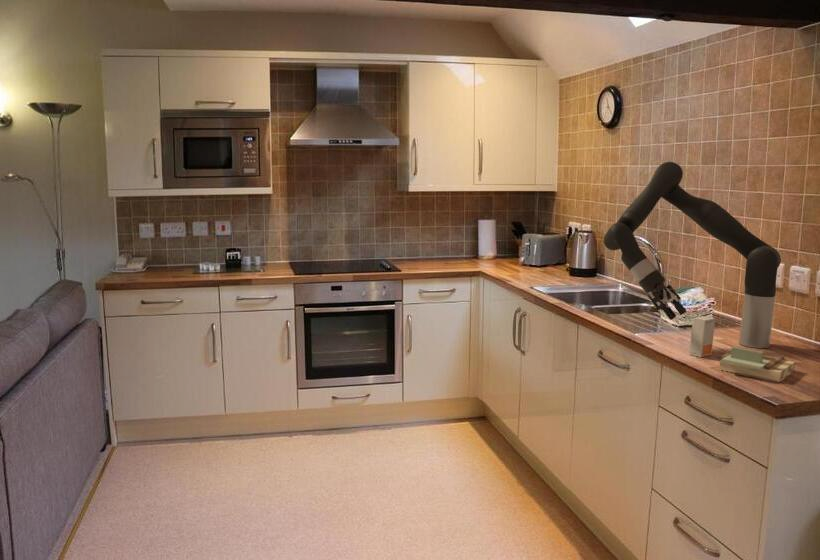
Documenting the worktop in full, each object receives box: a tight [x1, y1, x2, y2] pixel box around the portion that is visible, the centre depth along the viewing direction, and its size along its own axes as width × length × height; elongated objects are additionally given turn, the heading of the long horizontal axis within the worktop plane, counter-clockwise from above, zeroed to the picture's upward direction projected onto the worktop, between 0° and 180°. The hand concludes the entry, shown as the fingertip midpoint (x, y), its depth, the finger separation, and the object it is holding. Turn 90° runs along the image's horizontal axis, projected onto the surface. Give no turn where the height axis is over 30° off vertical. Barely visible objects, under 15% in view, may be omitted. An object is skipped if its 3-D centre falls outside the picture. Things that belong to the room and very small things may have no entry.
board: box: [718, 350, 796, 384], centre depth 202 cm, size 16×16×4 cm
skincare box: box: [688, 315, 716, 358], centre depth 217 cm, size 6×4×12 cm
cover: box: [722, 346, 771, 370], centre depth 198 cm, size 9×11×4 cm
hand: (679, 315), depth 221 cm, fingers open, 8 cm apart
